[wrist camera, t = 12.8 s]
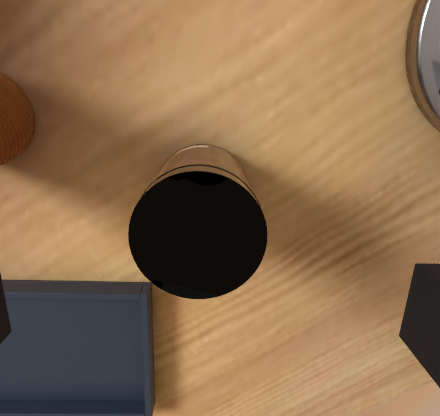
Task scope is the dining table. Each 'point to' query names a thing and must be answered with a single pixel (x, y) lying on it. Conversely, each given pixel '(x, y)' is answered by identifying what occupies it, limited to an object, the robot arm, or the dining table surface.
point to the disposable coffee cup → (14, 120)
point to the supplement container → (198, 225)
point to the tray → (77, 349)
